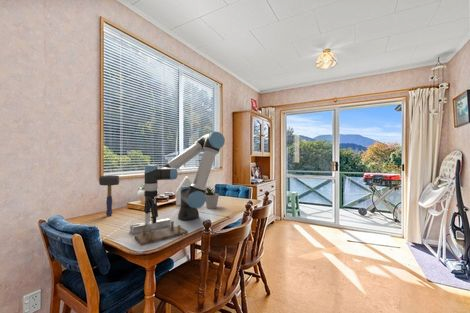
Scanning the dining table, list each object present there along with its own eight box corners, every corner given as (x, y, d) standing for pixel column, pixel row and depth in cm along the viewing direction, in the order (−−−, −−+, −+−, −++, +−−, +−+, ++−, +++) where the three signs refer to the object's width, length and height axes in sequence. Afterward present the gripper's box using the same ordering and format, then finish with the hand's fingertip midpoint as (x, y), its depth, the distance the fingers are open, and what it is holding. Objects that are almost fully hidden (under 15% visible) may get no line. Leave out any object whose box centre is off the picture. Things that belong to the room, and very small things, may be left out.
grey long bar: (167, 223, 144) (167, 217, 144) (171, 226, 139) (171, 219, 139) (130, 231, 129) (130, 224, 129) (132, 234, 124) (133, 227, 124)
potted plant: (210, 205, 199) (211, 183, 199) (221, 207, 190) (222, 184, 190) (200, 207, 189) (200, 184, 189) (211, 210, 180) (211, 186, 180)
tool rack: (179, 228, 135) (179, 219, 135) (187, 233, 126) (188, 224, 126) (134, 238, 118) (134, 228, 118) (141, 245, 109) (141, 234, 109)
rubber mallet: (119, 213, 166) (119, 174, 166) (117, 216, 159) (118, 175, 159) (100, 215, 162) (101, 175, 162) (98, 217, 155) (98, 176, 155)
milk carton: (176, 205, 195) (176, 178, 195) (176, 202, 210) (176, 176, 210) (197, 204, 200) (197, 177, 200) (196, 201, 215) (196, 176, 215)
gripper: (138, 188, 140) (138, 222, 140) (151, 193, 122) (150, 232, 122) (150, 187, 145) (150, 220, 145) (164, 192, 127) (163, 229, 127)
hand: (150, 225), depth 134 cm, fingers open, 10 cm apart
